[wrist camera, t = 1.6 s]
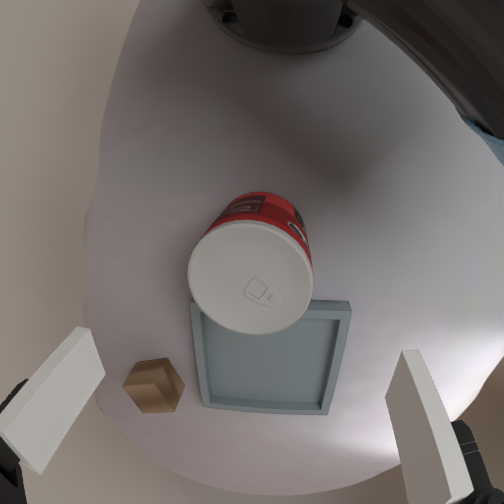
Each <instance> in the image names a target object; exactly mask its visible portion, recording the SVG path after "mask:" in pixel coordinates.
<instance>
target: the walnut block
mask: <svg viewBox="0 0 504 504" xmlns="http://www.w3.org/2000/svg"><path fill="white" fill-rule="evenodd" d="M184 386H185V385H184V383H183V382H182V380H181V379H180V377H179V376H178V374H177V372H176V371H175V369H174V368H173V366H172V364H171V363H170V361H169V359H168V358H162V359H155V360H148V361H141V362H137V363H136V365H135V366H134V368H133V369H132V371H131V373H130V374H129V376H128V378H127V379H126V381H125V383H124V384H123V388H124V389H125V391H126V392H127V393H128V395H129V396H130V397H131V398H132V400H133V401H134V402H135V404H136V405H137V406H138V408H139V409H140V410H141V411H142V413H161V412H175V409H176V407H177V404H178V402H179V399H180V396H181V394H182V391H183V389H184Z"/></svg>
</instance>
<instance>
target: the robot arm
mask: <svg viewBox="0 0 504 504" xmlns="http://www.w3.org/2000/svg"><path fill="white" fill-rule="evenodd" d="M203 1H204V3H205V6H206V8H207V10H208V11H209V13H210V14H211V16H212V17H213V19H214V20H215V21H216V23H217V24H218V25H219V26H220V27H221V28H222V29H223V30H224V31H225V32H226V33H227V34H228V35H230V36H231V37H233V38H234V39H236V40H237V41H239V42H241V43H243V44H245V45H247V46H250V47H252V48H255V49H258V50H262V51H266V52H271V53H278V54H305V53H312V52H317V51H321V50H324V49H327V48H330V47H332V46H334V45H336V44H338V43H340V42H342V41H343V40H345V39H346V38H348V37H349V36H350V35H351V34H352V33H353V32H354V31H355V30H356V29H357V28H358V27H359V25H360V24H361V22H362V21H363V19H365V20H366V21H367V22H369V23H370V24H371V25H372V26H374V27H375V28H376V29H377V30H379V31H380V32H381V33H382V34H384V35H385V36H386V37H387V38H388V39H390V40H391V41H392V42H393V43H394V44H395V45H397V46H398V47H399V48H400V49H401V50H402V51H403V52H404V53H405V54H407V55H408V56H409V57H410V58H411V59H412V60H413V61H414V62H415V63H416V64H417V65H418V66H419V67H420V68H421V69H422V70H423V71H424V72H425V73H426V74H427V75H428V76H429V77H430V78H431V79H432V80H433V81H434V82H435V83H436V85H437V86H438V87H439V88H440V89H441V90H442V91H443V92H444V94H445V95H446V96H447V97H448V98H449V99H450V101H451V102H452V103H453V104H454V105H455V108H456V110H457V112H458V113H459V115H460V116H461V118H462V120H463V121H464V122H465V124H466V125H468V126H469V127H470V128H471V129H472V130H473V131H474V132H476V133H477V134H478V135H480V136H481V137H482V139H483V140H484V141H485V142H486V144H487V145H488V146H489V148H490V149H491V150H492V152H493V153H494V154H495V156H496V157H497V159H498V160H499V161H500V162H501V164H502V165H503V166H504V0H203ZM105 374H106V373H105V371H104V368H103V365H102V363H101V360H100V357H99V354H98V352H97V349H96V346H95V343H94V340H93V337H92V334H91V331H90V329H88V328H83V327H78V326H77V327H76V328H75V329H74V330H73V332H71V333H70V335H69V336H68V337H67V338H66V339H65V340H64V341H63V342H62V343H61V344H60V345H59V346H58V348H57V349H56V350H55V351H54V352H53V353H52V354H51V355H50V356H49V357H48V358H47V360H46V361H45V362H44V363H43V364H42V365H41V366H40V367H39V369H38V370H37V371H36V372H35V373H34V374H33V375H32V377H31V378H30V379H25V380H24V381H22V382H21V383H19V384H18V385H17V386H16V387H15V388H14V390H13V391H12V392H11V394H9V395H8V397H7V398H6V400H4V401H3V402H2V404H1V405H0V504H27V501H26V496H25V490H24V485H23V478H22V470H21V467H20V465H19V464H18V463H19V461H20V460H21V461H22V462H23V463H24V464H25V465H26V466H27V467H28V468H29V469H31V470H33V471H34V472H36V473H38V474H40V475H41V474H42V472H43V471H44V469H45V467H46V466H47V464H48V463H49V461H50V459H51V458H52V456H53V454H54V452H55V451H56V449H57V448H58V446H59V445H60V443H61V441H62V440H63V438H64V437H65V435H66V433H67V432H68V430H69V429H70V427H71V426H72V424H73V423H74V421H75V419H76V418H77V416H78V415H79V413H80V412H81V410H82V408H83V407H84V405H85V404H86V402H87V401H88V400H89V398H90V397H91V395H92V394H93V392H94V391H95V389H96V388H97V386H98V385H99V383H100V382H101V380H102V379H103V377H104V376H105ZM385 399H386V403H387V407H388V411H389V414H390V418H391V422H392V426H393V431H394V435H395V439H396V443H397V448H398V452H399V457H400V461H401V466H402V471H403V476H404V481H405V486H406V492H407V498H408V503H409V504H504V493H503V492H502V491H501V490H499V489H496V488H493V486H492V484H491V483H490V480H489V477H488V474H487V471H486V468H485V465H484V463H483V460H482V457H481V455H480V452H478V447H477V444H476V443H475V439H474V437H473V434H472V432H471V430H470V428H469V427H468V426H467V425H466V424H465V423H464V422H463V421H462V420H458V421H453V422H450V420H449V417H448V415H447V412H446V410H445V408H444V405H443V403H442V400H441V398H440V396H439V393H438V391H437V389H436V386H435V384H434V382H433V380H432V377H431V375H430V373H429V371H428V369H427V366H426V364H425V362H424V360H423V358H422V356H421V354H420V352H419V350H402V351H401V354H400V358H399V360H398V363H397V366H396V369H395V372H394V375H393V378H392V380H391V383H390V386H389V388H388V391H387V393H386V396H385Z"/></svg>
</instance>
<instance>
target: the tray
mask: <svg viewBox="0 0 504 504" xmlns="http://www.w3.org/2000/svg"><path fill="white" fill-rule="evenodd" d="M190 312H191V322H192V331H193V339H194V347H195V355H196V363H197V371H198V378H199V385H200V392H201V398H202V405H203V407H209V408H217V409H225V410H234V411H244V412H256V413H270V414H289V415H328V411H329V408H330V404H331V401H332V397H333V393H334V389H335V385H336V381H337V377H338V373H339V369H340V365H341V361H342V356H343V352H344V348H345V343H346V338H347V334H348V329H349V324H350V319H351V313H352V310H351V307H350V304H349V301H329V300H310V303H309V305H308V307H307V309H306V310H305V312H304V313H303V315H302V316H301V317H300V318H299V319H298V320H297V321H296V322H295V323H293V324H292V325H290V326H289V327H287V328H285V329H283V330H281V331H278V332H275V333H271V334H265V335H247V334H241V333H237V332H234V331H231V330H228V329H226V328H224V327H222V326H220V325H218V324H217V323H216V322H214V321H213V320H211V319H210V318H209V317H208V316H207V315H206V314H205V313H204V312H203V311H202V310H201V309H200V307H199V306H198V305H197V303H196V302H195V300H194V298H193V297H192V299H191V300H190Z"/></svg>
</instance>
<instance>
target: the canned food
mask: <svg viewBox="0 0 504 504" xmlns="http://www.w3.org/2000/svg"><path fill="white" fill-rule="evenodd" d="M188 283H189V288H190V291H191V293H192V296H193V298H194V300H195V302H196V303H197V305H198V306H199V307H200V309H201V310H202V311H203V312H204V313H205V314H206V315H207V316H208V317H209V318H210V319H211V320H213V321H214V322H216V323H217V324H218V325H220V326H222V327H224V328H226V329H228V330H231V331H234V332H237V333H241V334H247V335H265V334H271V333H275V332H278V331H281V330H283V329H285V328H287V327H289V326H290V325H292V324H293V323H295V322H296V321H297V320H298V319H299V318H300V317H301V316H302V315H303V313H304V312H305V310H306V309H307V307H308V305H309V303H310V300H311V297H312V292H313V284H314V282H313V269H312V262H311V256H310V251H309V246H308V241H307V236H306V231H305V227H304V223H303V220H302V218H301V216H300V214H299V213H298V211H297V210H296V209H295V208H294V206H293V205H291V204H290V203H289V202H288V201H287V200H285V199H283V198H281V197H280V196H277V195H274V194H271V193H265V192H253V193H249V194H245V195H243V196H241V197H239V198H237V199H235V200H234V201H233V202H232V203H230V205H229V206H228V207H227V208H226V209H225V210H224V211H223V213H222V214H221V215H220V216H219V217H218V218H217V220H216V221H215V222H214V223H213V224H212V225H211V227H210V228H209V229H208V230H207V231H206V233H205V234H204V235H203V236H202V238H201V239H200V240H199V242H198V243H197V244H196V246H195V248H194V250H193V252H192V254H191V257H190V260H189V264H188Z"/></svg>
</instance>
